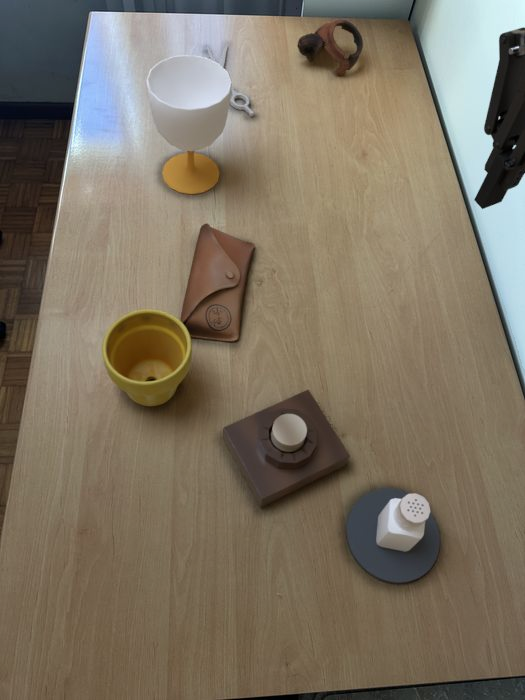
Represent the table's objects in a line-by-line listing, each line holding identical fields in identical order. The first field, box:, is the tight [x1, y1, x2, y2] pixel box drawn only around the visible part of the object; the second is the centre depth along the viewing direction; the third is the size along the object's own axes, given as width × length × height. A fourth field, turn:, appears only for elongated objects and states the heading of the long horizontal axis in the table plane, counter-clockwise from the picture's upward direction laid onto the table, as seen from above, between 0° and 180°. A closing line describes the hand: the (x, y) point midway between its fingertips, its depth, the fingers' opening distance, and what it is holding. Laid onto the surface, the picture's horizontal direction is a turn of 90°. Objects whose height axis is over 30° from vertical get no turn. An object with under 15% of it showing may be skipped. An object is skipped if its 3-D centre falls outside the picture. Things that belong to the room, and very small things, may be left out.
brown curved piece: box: [296, 19, 364, 76], centre depth 120 cm, size 12×10×8 cm
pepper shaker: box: [376, 492, 431, 552], centre depth 73 cm, size 4×4×10 cm
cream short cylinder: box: [271, 414, 307, 452], centre depth 77 cm, size 4×4×2 cm
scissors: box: [205, 42, 255, 118], centre depth 117 cm, size 11×1×20 cm
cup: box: [145, 54, 233, 195], centre depth 98 cm, size 12×12×17 cm
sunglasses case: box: [179, 222, 255, 343], centre depth 93 cm, size 18×7×7 cm, turn 174°
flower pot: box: [101, 308, 193, 407], centre depth 81 cm, size 10×10×10 cm
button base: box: [221, 389, 351, 508], centre depth 80 cm, size 12×10×5 cm
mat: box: [345, 487, 441, 585], centre depth 77 cm, size 11×11×1 cm
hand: (487, 200), depth 73 cm, fingers closed
